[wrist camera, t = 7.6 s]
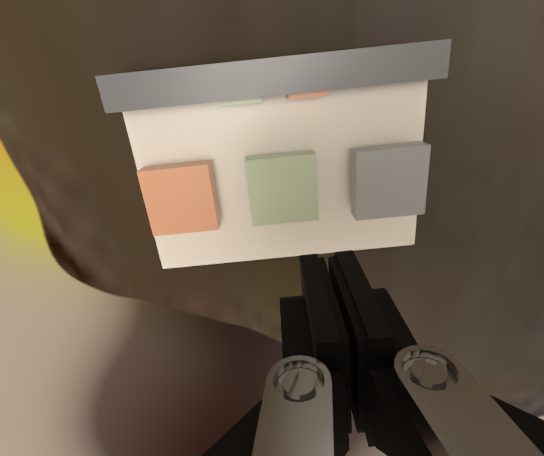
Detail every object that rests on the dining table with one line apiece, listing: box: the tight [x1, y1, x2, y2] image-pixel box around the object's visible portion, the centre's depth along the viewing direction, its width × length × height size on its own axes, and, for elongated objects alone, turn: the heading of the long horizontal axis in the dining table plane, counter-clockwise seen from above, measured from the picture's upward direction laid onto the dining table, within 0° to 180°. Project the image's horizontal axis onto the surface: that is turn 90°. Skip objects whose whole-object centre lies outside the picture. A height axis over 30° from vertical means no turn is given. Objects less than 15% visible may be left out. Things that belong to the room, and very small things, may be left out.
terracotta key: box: [137, 160, 221, 236], centre depth 23 cm, size 5×5×2 cm
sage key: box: [245, 149, 319, 226], centre depth 23 cm, size 5×5×2 cm
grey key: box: [351, 141, 431, 221], centre depth 22 cm, size 5×5×2 cm
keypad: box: [95, 39, 452, 269], centre depth 24 cm, size 20×14×5 cm
